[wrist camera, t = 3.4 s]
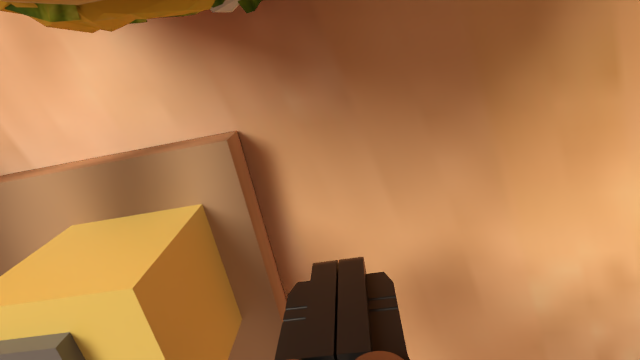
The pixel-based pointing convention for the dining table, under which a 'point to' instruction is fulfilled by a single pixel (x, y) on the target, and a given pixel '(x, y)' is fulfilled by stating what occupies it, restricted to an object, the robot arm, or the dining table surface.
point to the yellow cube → (122, 293)
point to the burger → (114, 11)
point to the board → (151, 196)
